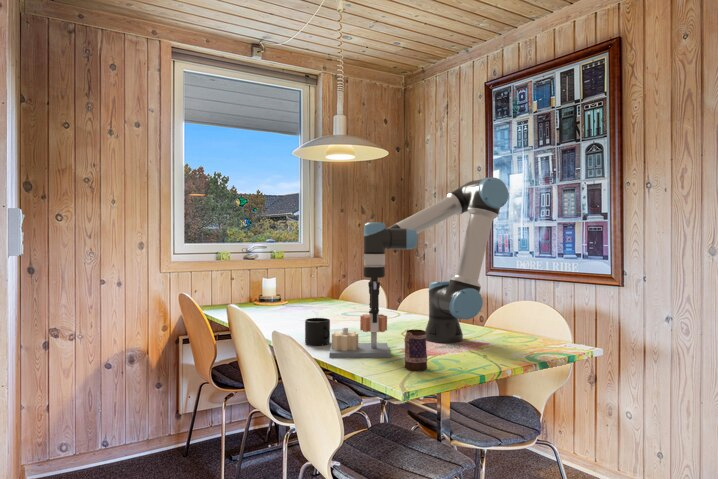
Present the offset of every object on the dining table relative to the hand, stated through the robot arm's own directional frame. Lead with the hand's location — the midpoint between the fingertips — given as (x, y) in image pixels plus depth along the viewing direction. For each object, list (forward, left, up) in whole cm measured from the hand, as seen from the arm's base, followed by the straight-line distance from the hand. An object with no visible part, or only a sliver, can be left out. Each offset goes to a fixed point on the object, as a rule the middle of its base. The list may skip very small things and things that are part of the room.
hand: (373, 329), depth 177 cm
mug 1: (+20, -14, -8) cm, 26 cm away
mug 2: (-11, +23, -8) cm, 27 cm away
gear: (0, 0, 0) cm, 0 cm away
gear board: (+5, 0, -8) cm, 9 cm away
